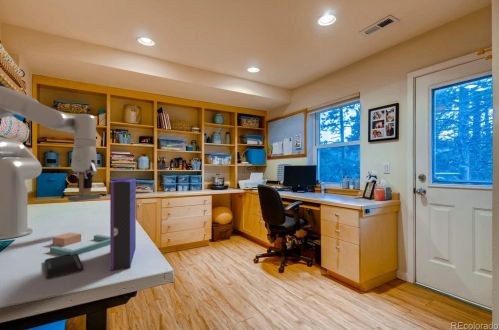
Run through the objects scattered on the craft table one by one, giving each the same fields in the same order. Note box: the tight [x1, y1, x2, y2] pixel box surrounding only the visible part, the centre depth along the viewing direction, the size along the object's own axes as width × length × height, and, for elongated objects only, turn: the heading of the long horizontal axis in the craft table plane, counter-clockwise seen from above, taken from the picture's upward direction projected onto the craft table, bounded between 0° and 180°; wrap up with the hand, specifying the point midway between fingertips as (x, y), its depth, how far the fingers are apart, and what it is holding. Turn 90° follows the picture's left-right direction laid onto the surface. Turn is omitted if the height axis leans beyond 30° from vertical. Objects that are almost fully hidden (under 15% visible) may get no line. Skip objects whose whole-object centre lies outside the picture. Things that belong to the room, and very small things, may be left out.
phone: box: [44, 253, 84, 280], centre depth 68 cm, size 8×1×15 cm
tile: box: [51, 232, 82, 247], centre depth 88 cm, size 6×6×3 cm
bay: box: [49, 234, 110, 256], centre depth 84 cm, size 11×16×2 cm
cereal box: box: [109, 177, 137, 272], centre depth 74 cm, size 17×5×24 cm, turn 21°
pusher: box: [67, 174, 101, 202], centre depth 101 cm, size 10×5×11 cm, turn 157°
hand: (84, 187), depth 101 cm, fingers closed on pusher, 3 cm apart
